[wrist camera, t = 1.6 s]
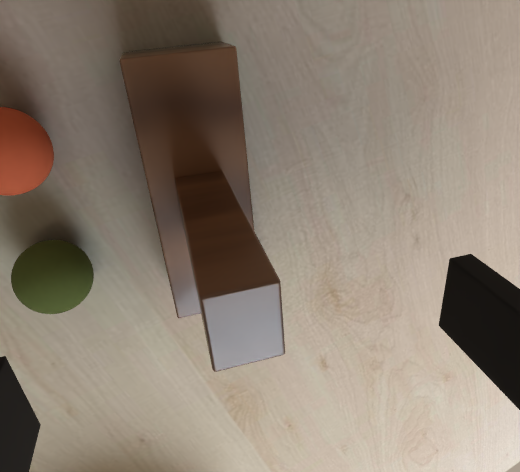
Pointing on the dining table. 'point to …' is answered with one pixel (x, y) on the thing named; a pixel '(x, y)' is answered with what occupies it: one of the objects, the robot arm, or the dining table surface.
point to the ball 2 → (52, 276)
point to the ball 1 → (22, 152)
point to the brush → (205, 196)
